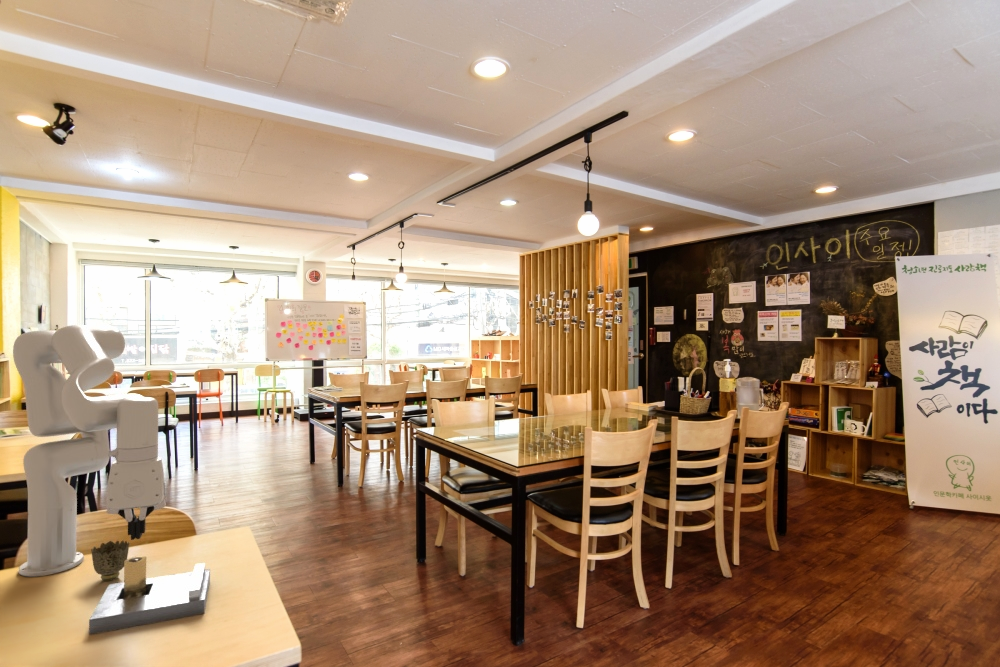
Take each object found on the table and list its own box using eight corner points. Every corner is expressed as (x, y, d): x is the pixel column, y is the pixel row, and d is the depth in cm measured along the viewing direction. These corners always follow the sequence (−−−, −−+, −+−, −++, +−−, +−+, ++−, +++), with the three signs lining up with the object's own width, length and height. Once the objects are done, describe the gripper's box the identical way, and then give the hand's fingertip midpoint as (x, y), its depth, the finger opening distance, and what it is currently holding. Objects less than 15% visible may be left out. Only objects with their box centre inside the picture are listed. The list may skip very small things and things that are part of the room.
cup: (108, 587, 124) (109, 553, 124) (82, 584, 126) (83, 550, 126) (136, 573, 131) (136, 541, 131) (111, 570, 133) (112, 538, 133)
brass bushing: (125, 602, 117) (126, 557, 117) (147, 599, 119) (147, 554, 119) (121, 611, 114) (122, 564, 114) (144, 607, 115) (144, 561, 115)
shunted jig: (109, 597, 119) (109, 575, 119) (209, 581, 128) (210, 560, 128) (88, 634, 105) (89, 609, 105) (204, 613, 113) (204, 590, 113)
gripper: (90, 460, 110) (89, 549, 110) (174, 454, 116) (173, 538, 116) (100, 453, 117) (99, 536, 117) (179, 447, 123) (178, 526, 123)
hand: (136, 537), depth 116 cm, fingers closed
